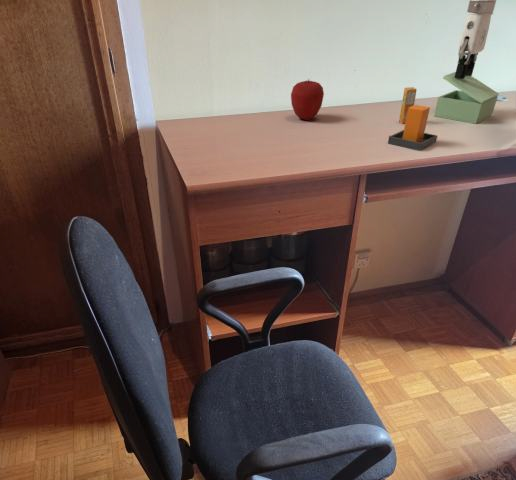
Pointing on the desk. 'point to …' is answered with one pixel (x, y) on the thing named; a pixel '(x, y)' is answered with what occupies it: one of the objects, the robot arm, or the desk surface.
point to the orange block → (415, 123)
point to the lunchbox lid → (472, 87)
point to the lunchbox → (463, 107)
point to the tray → (427, 141)
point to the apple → (307, 99)
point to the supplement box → (407, 102)
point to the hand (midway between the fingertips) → (463, 76)
